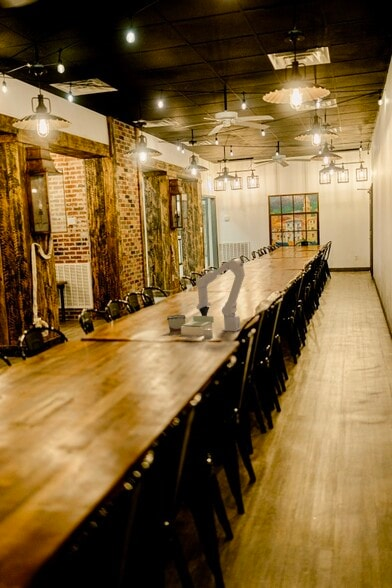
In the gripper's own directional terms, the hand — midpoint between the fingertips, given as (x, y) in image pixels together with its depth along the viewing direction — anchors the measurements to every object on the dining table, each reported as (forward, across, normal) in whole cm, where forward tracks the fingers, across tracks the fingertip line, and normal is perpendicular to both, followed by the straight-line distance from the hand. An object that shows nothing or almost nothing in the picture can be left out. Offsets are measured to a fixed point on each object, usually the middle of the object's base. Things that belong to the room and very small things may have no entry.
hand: (204, 318), depth 349 cm
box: (+7, +10, 0) cm, 13 cm away
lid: (+2, +8, 0) cm, 8 cm away
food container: (+7, +9, -15) cm, 19 cm away
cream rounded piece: (+7, +22, +14) cm, 27 cm away
